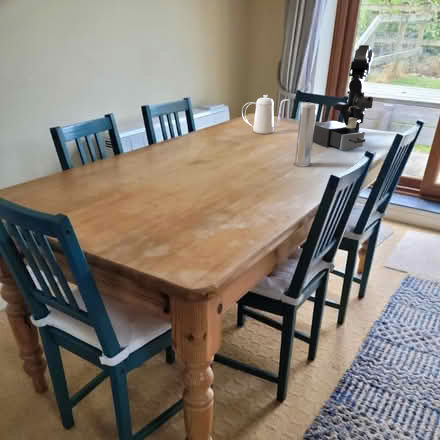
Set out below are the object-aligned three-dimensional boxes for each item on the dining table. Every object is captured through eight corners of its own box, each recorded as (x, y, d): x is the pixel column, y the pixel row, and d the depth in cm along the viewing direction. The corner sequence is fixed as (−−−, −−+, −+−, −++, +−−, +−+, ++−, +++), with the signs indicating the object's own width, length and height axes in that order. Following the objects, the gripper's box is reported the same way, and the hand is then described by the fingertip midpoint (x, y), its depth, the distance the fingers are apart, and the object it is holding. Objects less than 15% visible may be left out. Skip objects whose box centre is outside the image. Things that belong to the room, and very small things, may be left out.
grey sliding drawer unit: (349, 143, 228) (352, 126, 224) (326, 147, 222) (329, 129, 218) (331, 137, 238) (334, 120, 234) (309, 140, 233) (311, 123, 228)
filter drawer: (369, 149, 217) (372, 134, 213) (348, 152, 212) (350, 137, 208) (344, 140, 230) (347, 126, 226) (324, 143, 224) (325, 129, 221)
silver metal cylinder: (309, 167, 195) (316, 105, 182) (294, 166, 196) (300, 104, 183) (310, 162, 201) (317, 102, 187) (295, 161, 202) (301, 101, 188)
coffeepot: (287, 135, 242) (290, 97, 232) (240, 133, 244) (241, 96, 234) (286, 130, 251) (290, 93, 241) (241, 128, 253) (243, 92, 243)
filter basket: (342, 126, 218) (343, 118, 216) (350, 125, 220) (352, 117, 218) (349, 128, 214) (351, 120, 212) (358, 127, 216) (359, 119, 214)
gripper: (352, 93, 199) (347, 130, 207) (384, 90, 206) (377, 126, 215) (335, 89, 207) (331, 125, 215) (366, 87, 214) (360, 121, 223)
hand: (350, 124), depth 217 cm, fingers closed on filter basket, 5 cm apart
